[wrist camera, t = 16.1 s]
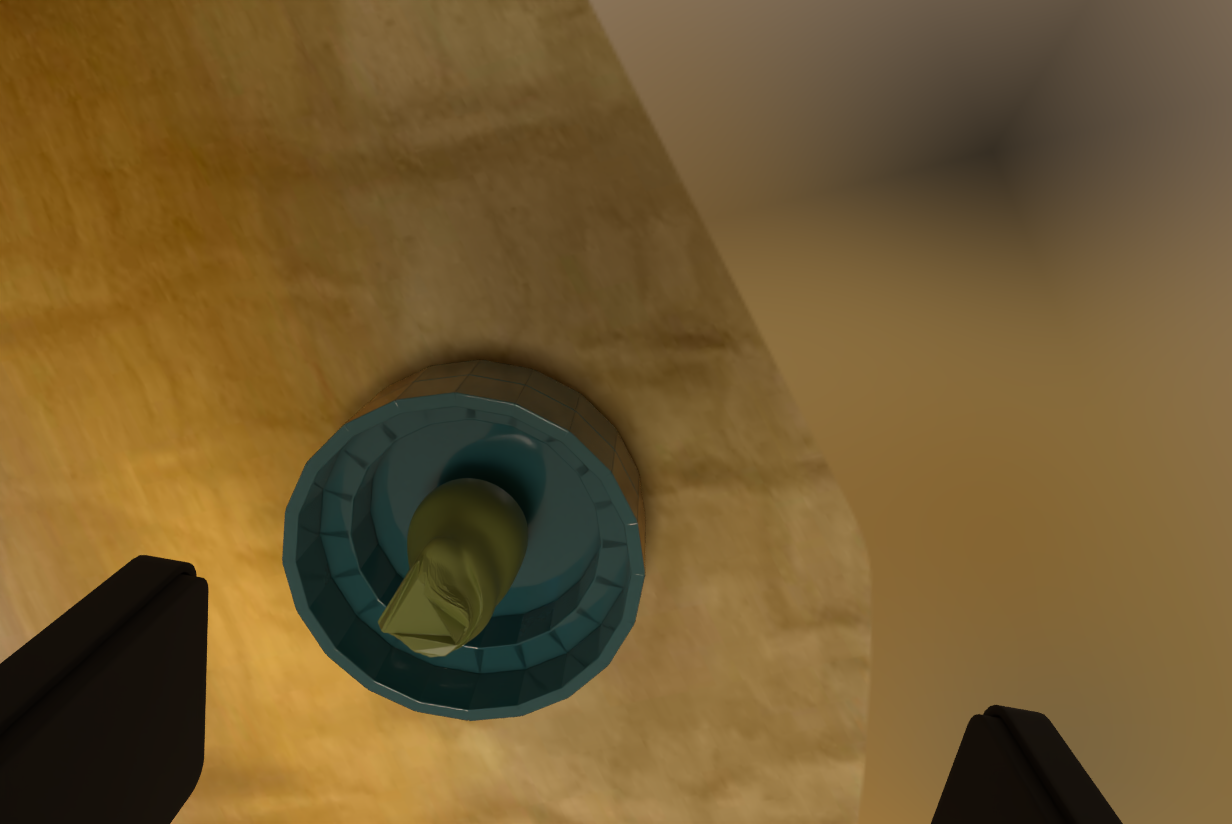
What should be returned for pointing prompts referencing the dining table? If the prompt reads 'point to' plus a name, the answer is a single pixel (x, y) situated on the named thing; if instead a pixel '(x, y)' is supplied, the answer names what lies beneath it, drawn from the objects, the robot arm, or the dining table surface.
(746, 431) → the dining table surface
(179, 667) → the robot arm
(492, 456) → the bowl
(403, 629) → the pear
